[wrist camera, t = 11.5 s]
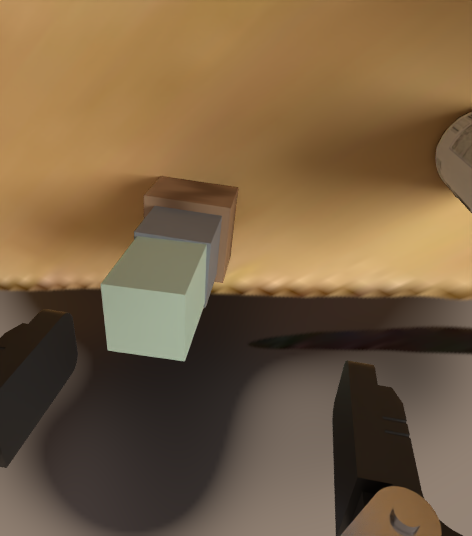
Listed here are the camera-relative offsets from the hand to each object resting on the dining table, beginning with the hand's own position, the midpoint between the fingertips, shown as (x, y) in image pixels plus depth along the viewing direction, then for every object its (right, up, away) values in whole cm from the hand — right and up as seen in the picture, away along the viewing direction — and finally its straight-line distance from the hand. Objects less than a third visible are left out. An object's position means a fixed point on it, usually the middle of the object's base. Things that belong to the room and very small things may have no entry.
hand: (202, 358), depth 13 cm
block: (-4, +2, +19) cm, 20 cm away
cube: (-3, +5, +24) cm, 24 cm away
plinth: (-3, +7, +28) cm, 29 cm away
